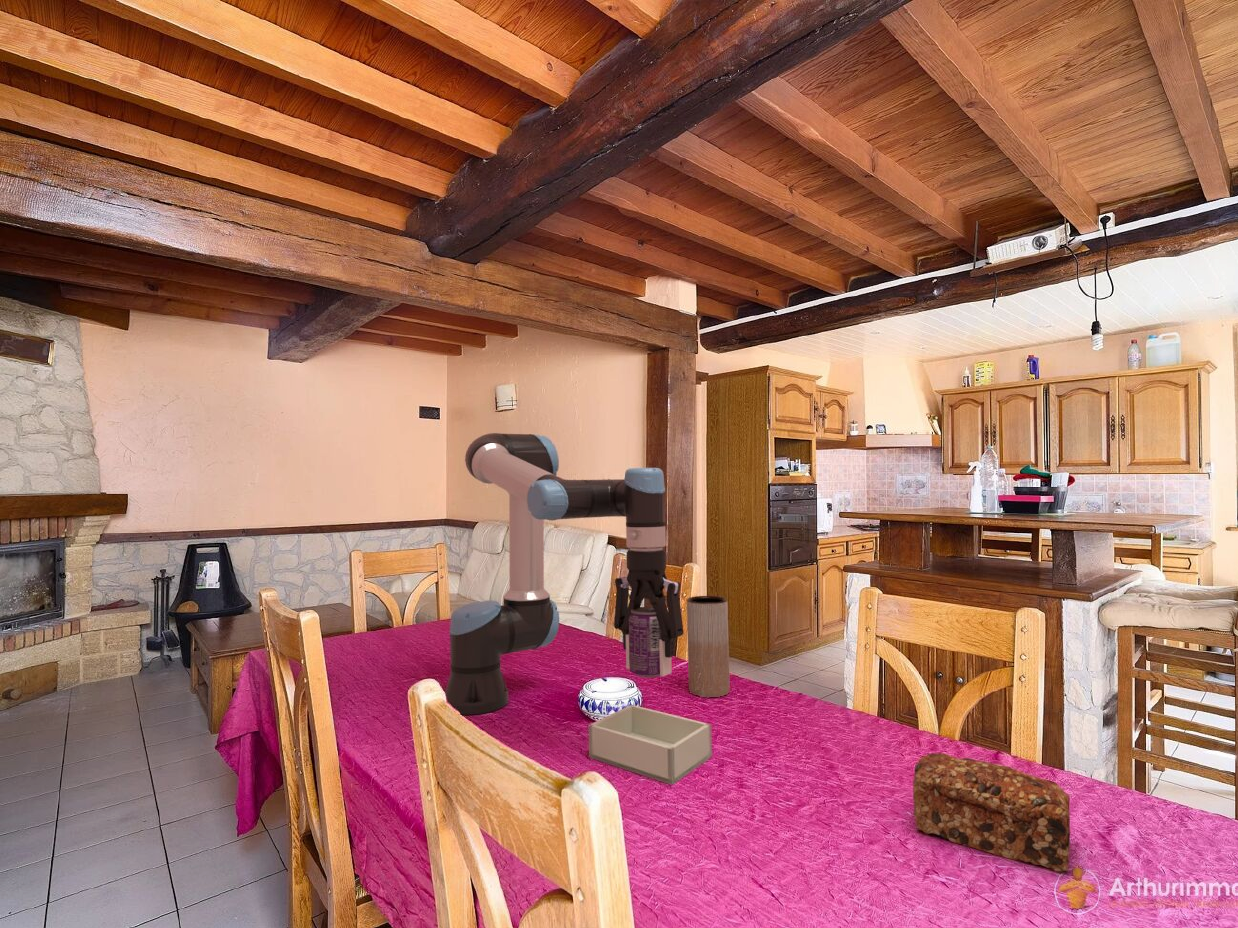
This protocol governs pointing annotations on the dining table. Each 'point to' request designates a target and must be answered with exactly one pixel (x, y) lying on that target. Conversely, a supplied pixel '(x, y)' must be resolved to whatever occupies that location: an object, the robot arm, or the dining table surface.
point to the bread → (993, 809)
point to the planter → (708, 646)
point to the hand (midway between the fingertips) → (648, 670)
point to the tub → (650, 743)
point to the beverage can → (644, 642)
